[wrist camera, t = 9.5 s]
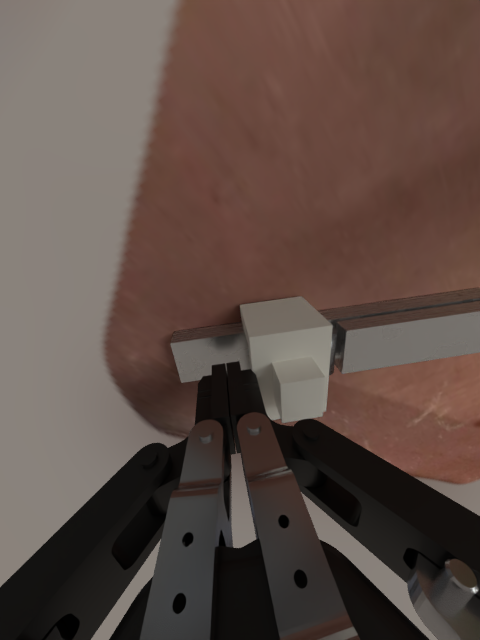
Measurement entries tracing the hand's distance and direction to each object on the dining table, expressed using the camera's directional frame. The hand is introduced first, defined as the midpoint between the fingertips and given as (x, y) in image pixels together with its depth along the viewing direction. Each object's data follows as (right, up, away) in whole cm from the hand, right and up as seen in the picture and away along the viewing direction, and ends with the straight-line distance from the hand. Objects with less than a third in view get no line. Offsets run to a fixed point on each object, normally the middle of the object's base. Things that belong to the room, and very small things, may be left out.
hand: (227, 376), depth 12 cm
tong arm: (+17, +3, +3) cm, 17 cm away
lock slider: (+3, +2, +3) cm, 5 cm away
